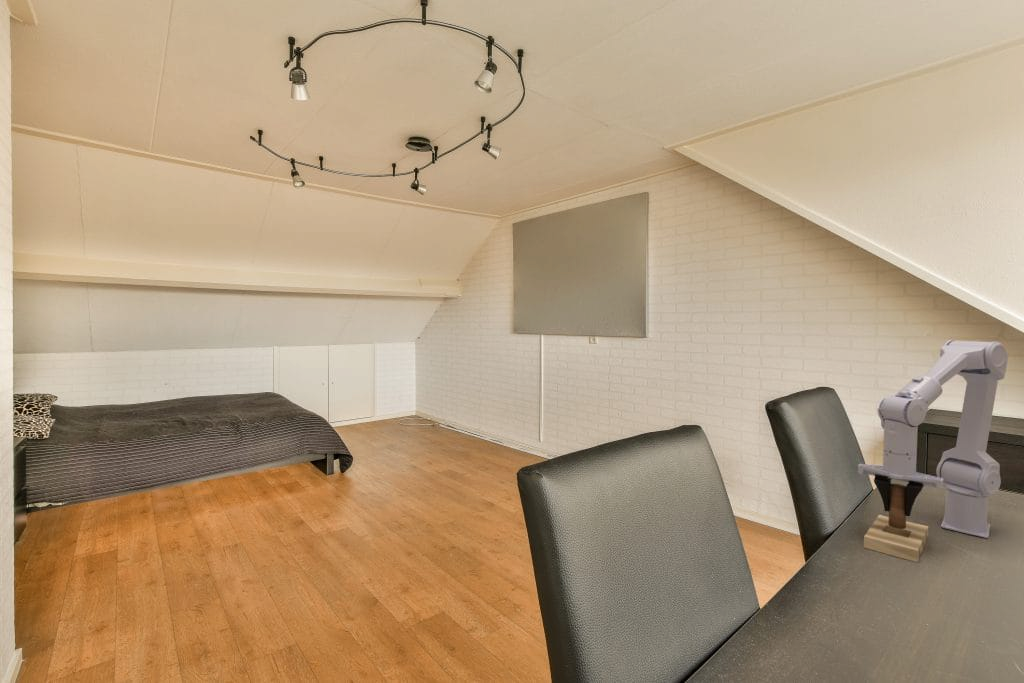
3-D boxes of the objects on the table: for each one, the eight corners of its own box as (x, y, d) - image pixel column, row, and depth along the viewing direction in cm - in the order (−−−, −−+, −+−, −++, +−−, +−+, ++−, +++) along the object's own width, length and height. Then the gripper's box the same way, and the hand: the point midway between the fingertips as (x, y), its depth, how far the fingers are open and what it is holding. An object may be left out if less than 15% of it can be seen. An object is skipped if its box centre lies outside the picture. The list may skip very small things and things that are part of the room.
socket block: (878, 525, 116) (879, 514, 116) (927, 537, 110) (928, 526, 110) (863, 547, 105) (864, 536, 105) (917, 562, 99) (918, 550, 98)
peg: (890, 521, 109) (891, 482, 109) (907, 526, 107) (908, 486, 107) (886, 525, 107) (888, 485, 107) (904, 530, 105) (905, 489, 105)
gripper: (855, 448, 109) (853, 508, 109) (941, 462, 98) (939, 528, 99) (862, 442, 114) (860, 499, 114) (945, 455, 103) (942, 518, 104)
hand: (897, 512), depth 107 cm, fingers closed on peg, 3 cm apart
